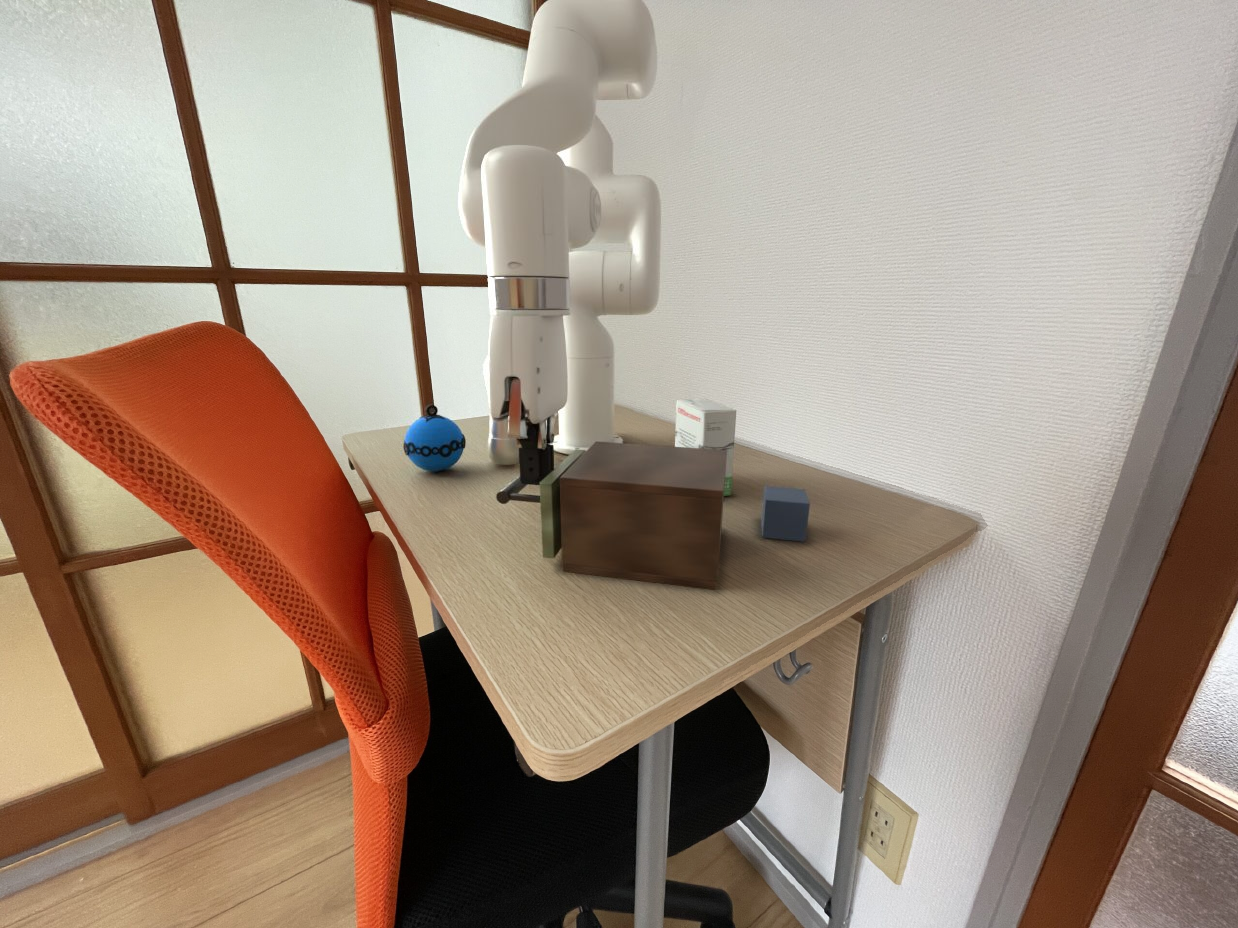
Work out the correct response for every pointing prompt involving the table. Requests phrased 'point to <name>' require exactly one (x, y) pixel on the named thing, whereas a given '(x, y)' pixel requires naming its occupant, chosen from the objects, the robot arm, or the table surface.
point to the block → (785, 513)
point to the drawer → (544, 503)
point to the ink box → (707, 429)
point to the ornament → (434, 442)
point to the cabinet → (644, 513)
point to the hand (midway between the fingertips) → (537, 482)
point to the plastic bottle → (500, 436)
